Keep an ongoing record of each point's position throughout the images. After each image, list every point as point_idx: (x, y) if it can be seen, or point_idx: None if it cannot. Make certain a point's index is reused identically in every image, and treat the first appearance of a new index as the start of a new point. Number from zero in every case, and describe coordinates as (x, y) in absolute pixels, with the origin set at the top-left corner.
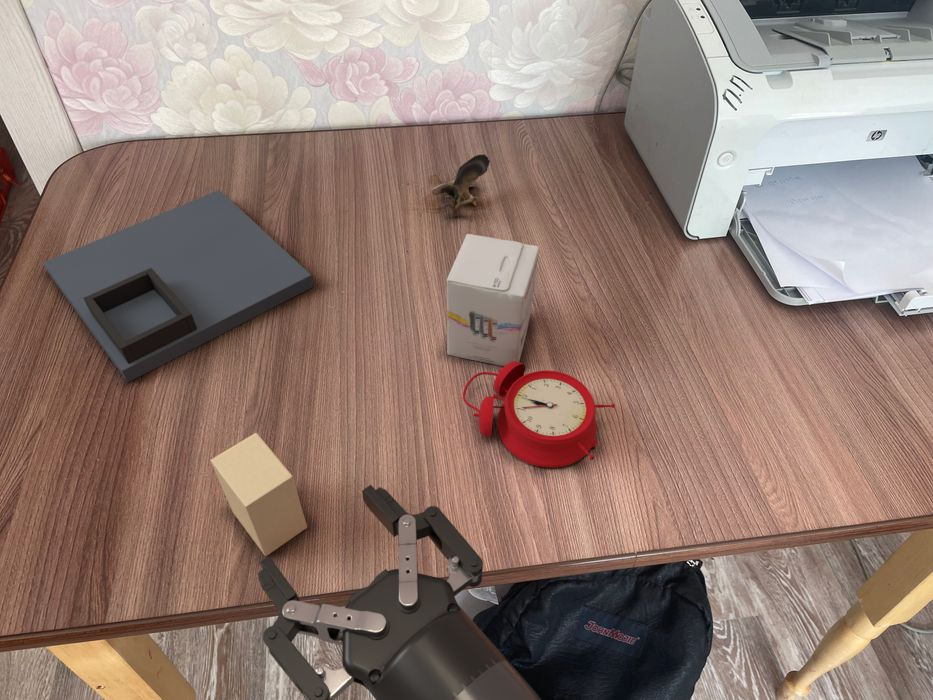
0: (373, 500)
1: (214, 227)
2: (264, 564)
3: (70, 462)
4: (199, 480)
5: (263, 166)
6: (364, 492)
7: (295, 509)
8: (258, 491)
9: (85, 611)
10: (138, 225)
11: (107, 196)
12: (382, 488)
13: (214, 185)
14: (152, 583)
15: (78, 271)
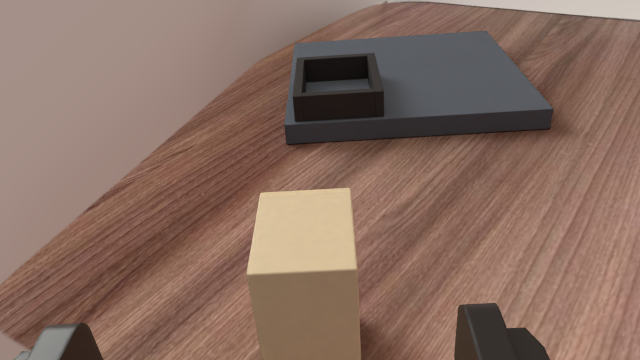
0: (479, 349)
1: (461, 52)
2: (47, 335)
3: (179, 186)
4: None
5: (544, 32)
6: (462, 313)
7: (347, 351)
8: (284, 262)
9: None
10: (390, 38)
11: (382, 26)
12: (532, 336)
13: None
14: (123, 349)
15: (315, 53)
